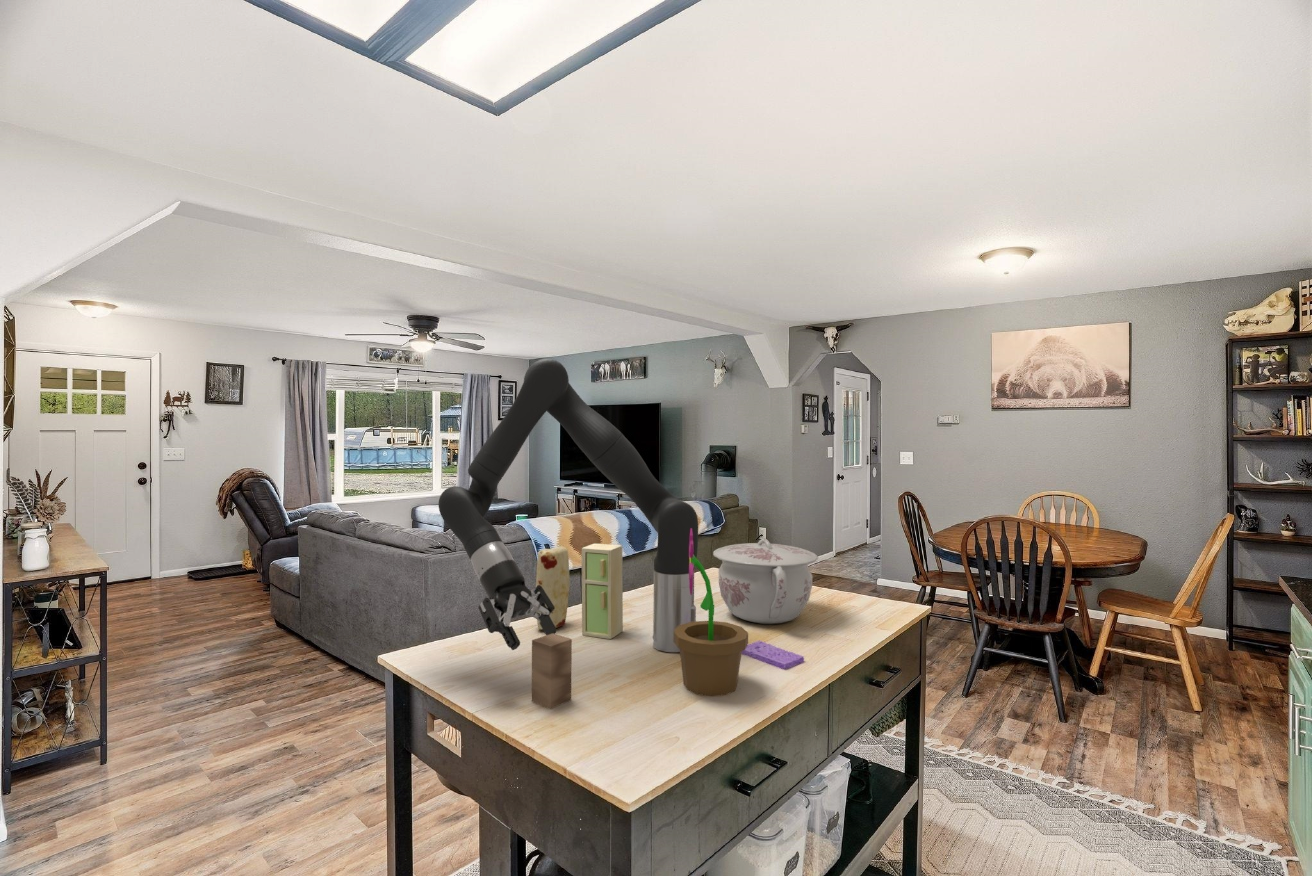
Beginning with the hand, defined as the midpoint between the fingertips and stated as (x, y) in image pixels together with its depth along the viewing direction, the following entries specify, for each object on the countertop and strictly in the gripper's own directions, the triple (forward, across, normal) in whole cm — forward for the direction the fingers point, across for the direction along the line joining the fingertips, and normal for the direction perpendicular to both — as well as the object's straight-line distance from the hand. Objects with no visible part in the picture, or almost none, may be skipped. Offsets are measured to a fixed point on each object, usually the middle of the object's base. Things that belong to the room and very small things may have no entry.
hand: (535, 641), depth 115 cm
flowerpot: (+23, +24, -9) cm, 35 cm away
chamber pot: (+14, +70, 0) cm, 71 cm away
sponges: (+25, +45, -10) cm, 52 cm away
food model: (-12, +28, +26) cm, 40 cm away
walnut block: (+10, 0, +4) cm, 11 cm away
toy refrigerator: (-3, +32, +17) cm, 37 cm away
